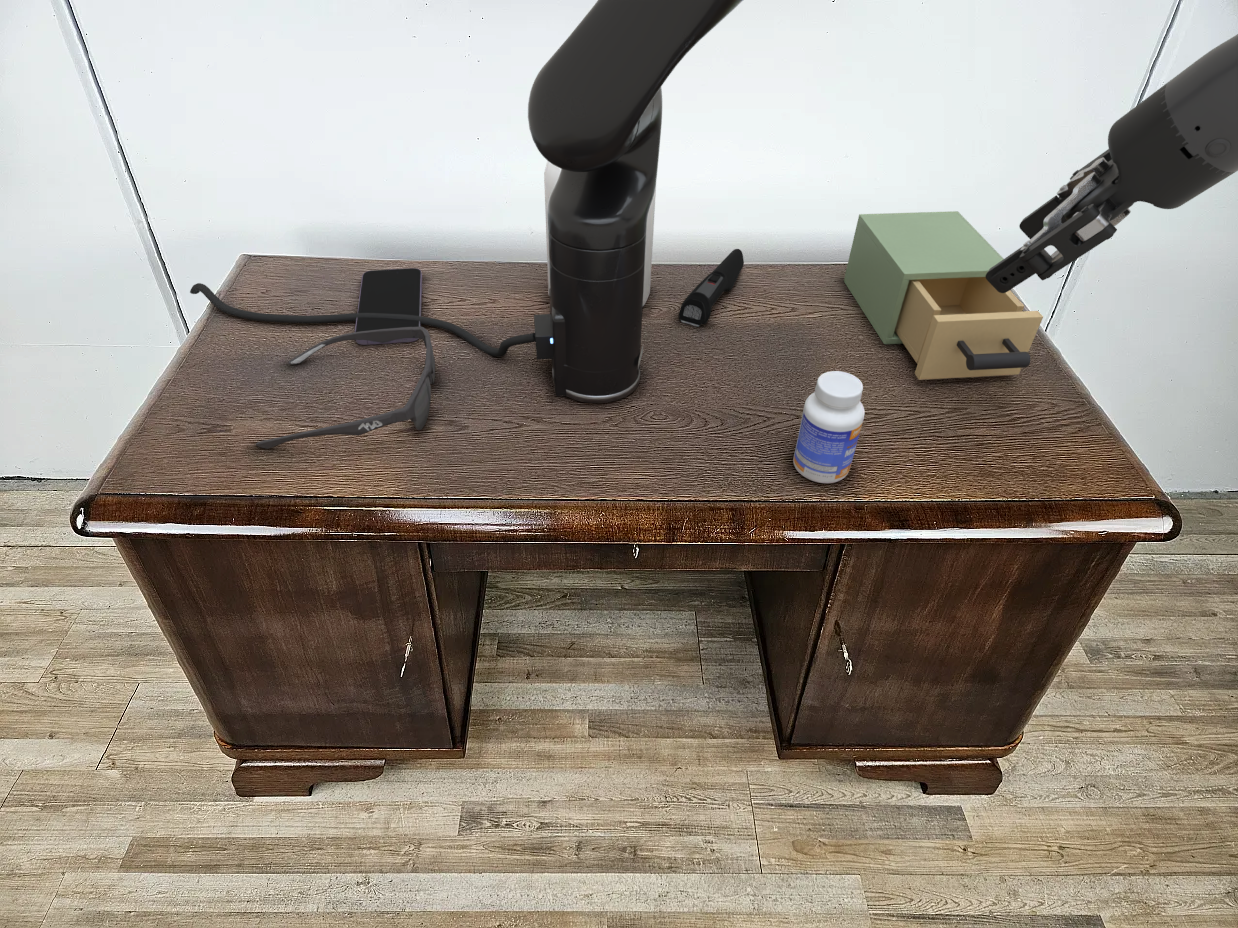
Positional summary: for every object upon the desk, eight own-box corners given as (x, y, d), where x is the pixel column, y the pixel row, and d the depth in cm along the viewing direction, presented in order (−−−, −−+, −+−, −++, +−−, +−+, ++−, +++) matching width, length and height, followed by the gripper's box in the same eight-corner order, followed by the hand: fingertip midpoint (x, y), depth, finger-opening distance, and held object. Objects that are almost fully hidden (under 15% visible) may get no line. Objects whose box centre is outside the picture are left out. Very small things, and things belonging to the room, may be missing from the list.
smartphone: (353, 340, 91) (362, 270, 102) (354, 348, 92) (363, 278, 103) (419, 336, 92) (422, 267, 103) (421, 344, 93) (423, 275, 104)
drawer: (1038, 398, 86) (1065, 339, 81) (934, 404, 85) (955, 345, 80) (965, 309, 99) (984, 254, 94) (874, 313, 98) (889, 257, 93)
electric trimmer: (750, 273, 107) (753, 250, 104) (704, 329, 96) (707, 305, 94) (723, 266, 108) (725, 244, 106) (675, 320, 97) (677, 296, 95)
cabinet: (987, 339, 96) (1014, 269, 90) (884, 344, 94) (904, 273, 88) (936, 277, 107) (957, 211, 100) (843, 281, 105) (859, 214, 99)
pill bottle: (849, 489, 76) (873, 406, 70) (790, 480, 77) (809, 397, 70) (848, 452, 80) (871, 370, 74) (793, 443, 81) (811, 362, 74)
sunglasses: (433, 451, 79) (420, 410, 75) (260, 470, 79) (239, 431, 75) (448, 353, 91) (437, 314, 87) (298, 370, 91) (281, 332, 88)
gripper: (1192, 43, 58) (1007, 186, 72) (1146, 124, 50) (948, 267, 64) (1263, 120, 58) (1065, 248, 72) (1227, 212, 51) (1013, 336, 65)
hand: (1010, 257), depth 68 cm, fingers open, 8 cm apart
